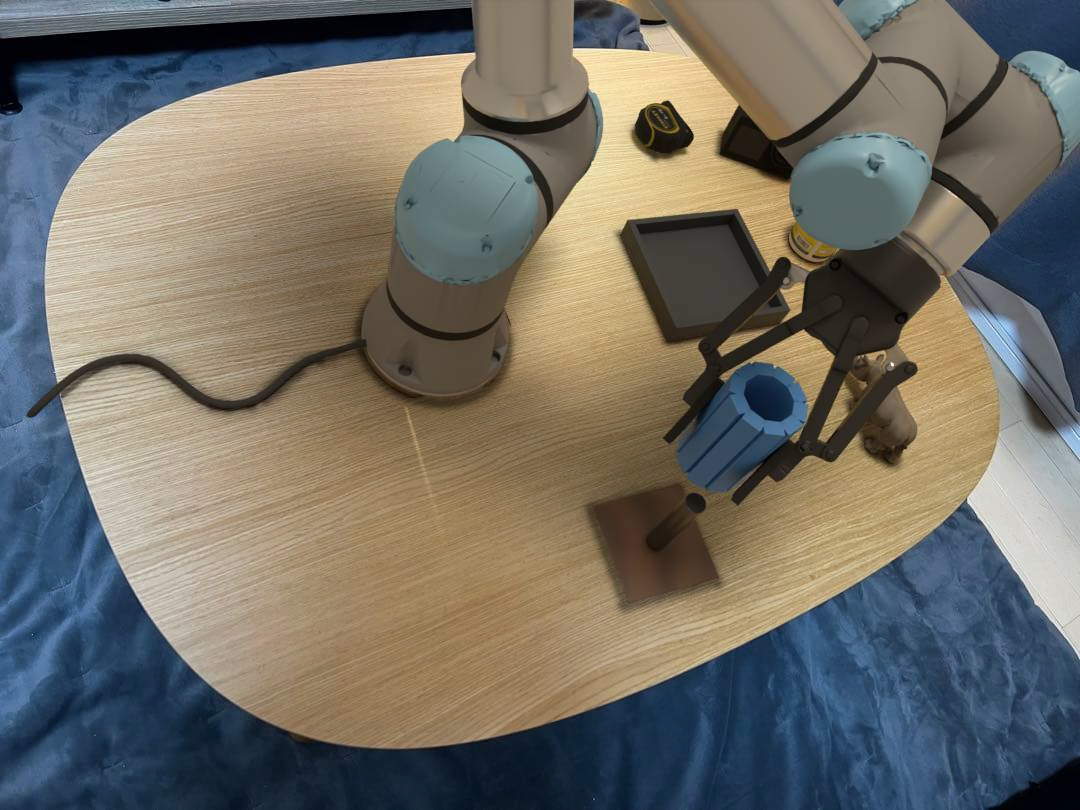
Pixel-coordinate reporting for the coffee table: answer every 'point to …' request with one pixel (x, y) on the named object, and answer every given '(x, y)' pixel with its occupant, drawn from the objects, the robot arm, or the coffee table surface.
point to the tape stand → (656, 542)
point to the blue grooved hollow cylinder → (741, 426)
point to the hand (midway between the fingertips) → (701, 469)
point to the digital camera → (752, 145)
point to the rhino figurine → (885, 412)
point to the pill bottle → (808, 245)
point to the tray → (699, 270)
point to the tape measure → (662, 128)
